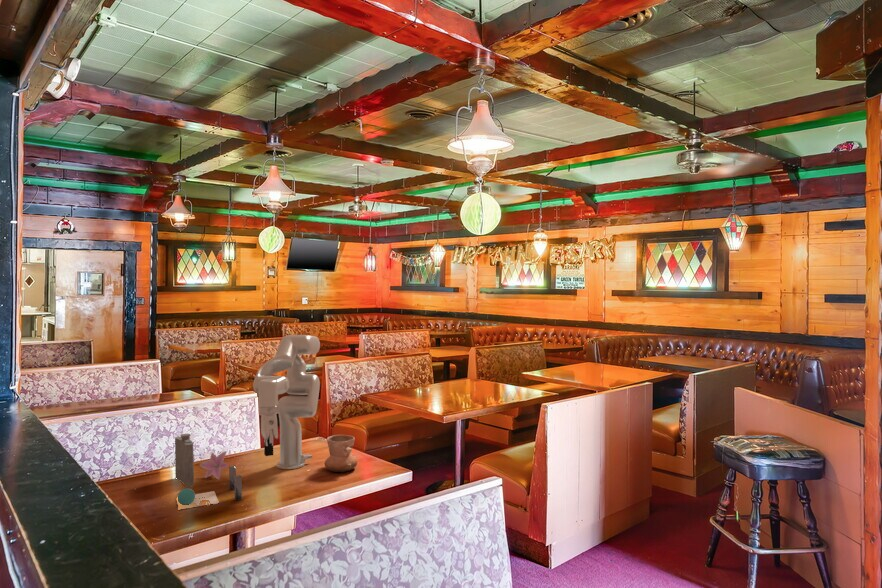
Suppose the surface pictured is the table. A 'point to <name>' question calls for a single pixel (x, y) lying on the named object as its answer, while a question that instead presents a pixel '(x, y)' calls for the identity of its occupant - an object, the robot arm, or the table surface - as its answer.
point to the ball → (186, 496)
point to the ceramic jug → (340, 453)
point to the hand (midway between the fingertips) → (268, 455)
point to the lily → (215, 465)
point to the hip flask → (184, 460)
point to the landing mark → (206, 498)
